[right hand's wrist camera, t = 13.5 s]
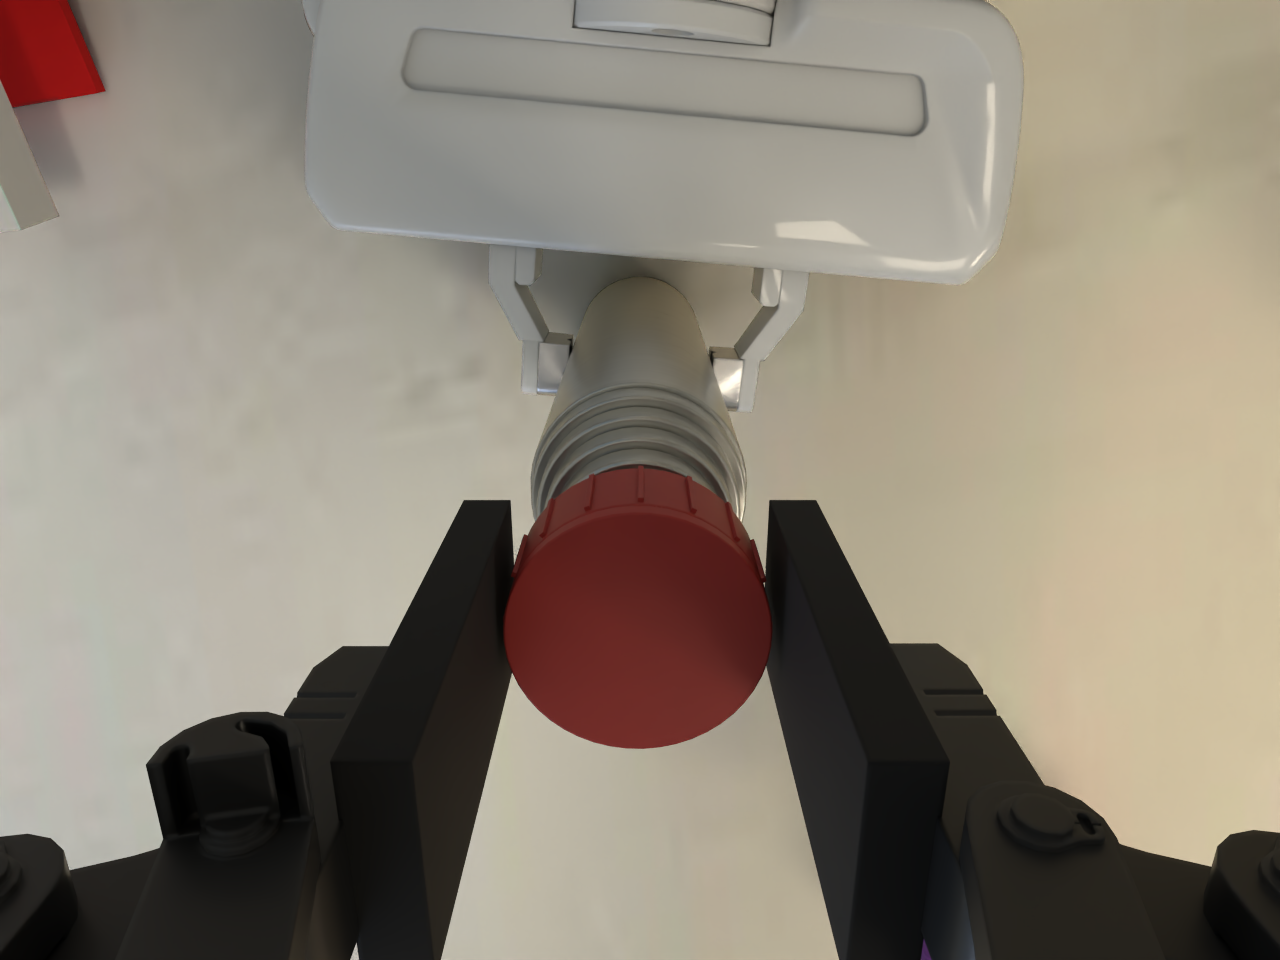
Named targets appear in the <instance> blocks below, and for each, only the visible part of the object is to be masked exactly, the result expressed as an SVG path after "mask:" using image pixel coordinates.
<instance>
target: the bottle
mask: <svg viewBox="0 0 1280 960" xmlns="http://www.w3.org/2000/svg"><path fill="white" fill-rule="evenodd" d="M638 466H644V469H655V470H661V471H667V472H670V473H674V474H678V475H681V476H683V477H687V475H688V476H691V477H692V480H693V481H695V482H697V483H699V484H701V485H702V486H704V487H706V488H707V489H709V490H710V491H712V492H713V493H714V494H716V495H717V496H718V497H720V498H721V499H722V500H723V501H724V502H725V503H727V502H729V503H730V504H731V505H732V509H733V512H734V513H735V514H736V516H737V517H738V518H739V520H740V521H741V523H742V521H743V517H744V512H745V505H746V488H747V478H746V468H745V463H744V459H743V455H742V452H741V449H740V446H739V443H738V440H737V437H736V434H735V431H734V428H733V426H732V423H731V420H730V417H729V414H728V411H727V408H726V405H725V402H724V399H723V396H722V393H721V390H720V387H719V384H718V382H717V379H716V376H715V373H714V370H713V367H712V364H711V361H710V358H709V355H708V352H707V349H706V346H705V343H704V340H703V338H702V335H701V332H700V329H699V326H698V323H697V320H696V317H695V314H694V312H693V310H692V308H691V306H690V304H689V303H688V301H687V300H686V299H685V298H684V296H683V295H682V294H681V293H680V292H679V291H677V290H676V289H675V288H674V287H672V286H670V285H669V284H667V283H665V282H662V281H660V280H657V279H654V278H648V277H631V278H626V279H622V280H619V281H617V282H614V283H613V284H611V285H609V286H607V287H606V288H605V289H603V290H602V291H601V292H600V293H599V294H598V295H597V296H596V297H595V298H594V299H593V301H592V302H591V303H590V305H589V307H588V309H587V311H586V313H585V315H584V318H583V321H582V324H581V326H580V329H579V332H578V335H577V338H576V340H575V343H574V346H573V349H572V352H571V355H570V357H569V360H568V363H567V366H566V369H565V371H564V374H563V377H562V380H561V383H560V385H559V388H558V391H557V394H556V397H555V399H554V402H553V405H552V408H551V411H550V414H549V416H548V419H547V422H546V425H545V428H544V430H543V433H542V436H541V439H540V442H539V444H538V447H537V450H536V453H535V457H534V461H533V464H532V472H531V501H532V510H533V516H534V520H535V521H536V520H537V518H538V517H539V516H540V514H541V513H542V512H543V511H544V509H545V508H546V507H547V504H548V501H549V500H550V499H551V498H553V499H555V498H557V497H558V496H559V495H560V494H562V493H563V492H564V491H566V490H567V489H569V488H570V487H572V486H573V485H575V484H577V483H579V482H581V481H583V480H585V479H587V478H589V475H590V474H593V473H594V475H595V476H596V475H598V474H601V473H606V472H610V471H614V470H621V469H631V468H638Z"/></svg>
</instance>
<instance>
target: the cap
mask: <svg viewBox="0 0 1280 960" xmlns="http://www.w3.org/2000/svg"><path fill="white" fill-rule="evenodd" d="M511 577H514V580H513V584H512V587H511V590H510V593H509V597H508V601H507V604H506V608H505V613H504V616H503V636H504V646H505V651H506V656H507V659H508V662H509V665H510V668H511V671H512V673H513V675H514V677H515V679H516V681H517V683H518V685H519V686H520V688H521V689H522V691H523V692H524V694H525V695H526V697H527V698H528V699H529V700H530V701H531V702H532V704H533V705H534V706H535V707H536V708H537V709H538V710H539V711H540V712H541V713H542V714H544V715H545V716H546V717H547V718H548V719H549V720H551V721H552V722H554V723H555V724H557V725H558V726H560V727H561V728H563V729H564V730H566V731H568V732H570V733H572V734H574V735H576V736H578V737H581V738H584V739H586V740H589V741H592V742H595V743H599V744H603V745H607V746H612V747H620V748H634V749H645V748H656V747H663V746H668V745H673V744H677V743H680V742H684V741H687V740H690V739H693V738H695V737H697V736H699V735H701V734H704V733H706V732H708V731H709V730H711V729H713V728H714V727H716V726H718V725H719V724H721V723H722V722H723V721H725V720H726V719H727V718H729V717H730V716H731V715H732V714H734V713H735V712H736V711H737V710H738V709H739V708H740V707H741V706H742V705H743V704H744V702H745V701H746V700H747V699H748V697H749V696H750V695H751V693H752V692H753V691H754V689H755V687H756V686H757V684H758V682H759V680H760V679H761V677H762V675H763V672H764V670H765V667H766V664H767V662H768V658H769V654H770V649H771V643H772V617H771V611H770V607H769V602H768V598H767V595H766V592H765V588H764V584H763V583H764V582H766V577H765V574H764V571H763V567H762V564H761V561H760V557H759V554H758V550H757V547H756V544H755V541H754V539H752V540H750V538H749V536H748V533H747V532H746V530H745V528H744V526H743V524H742V523H741V521H740V520H739V518H738V517H737V516H736V514H735V513H734V512H733V509H732V505H731V504H730V503H729V502H727V503H725V502H724V501H723V500H722V499H721V498H720V497H718V496H717V495H716V494H714V493H713V492H712V491H710V490H709V489H707V488H706V487H704V486H702V485H701V484H699V483H697V482H695V481H693V480H692V477H691V476H688V475H687V477H683V476H681V475H678V474H674V473H670V472H667V471H661V470H655V469H644V466H638V468H631V469H621V470H614V471H610V472H606V473H601V474H598V475H596V476H595V475H594V473H593V474H590V475H589V478H587V479H585V480H583V481H581V482H579V483H577V484H575V485H573V486H572V487H570V488H569V489H567V490H566V491H564V492H563V493H562V494H560V495H559V496H558V497H557V498H555V499H553V498H551V499H550V500H549V501H548V504H547V507H546V508H545V509H544V511H543V512H542V513H541V514H540V516H539V517H538V518H537V520H536V521H535V523H534V525H533V526H532V528H531V530H530V532H529V534H528V535H525V534H524V536H523V539H522V542H521V545H520V548H519V552H518V555H517V558H516V561H515V564H514V568H513V571H512V574H511Z"/></svg>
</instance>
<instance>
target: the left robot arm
mask: <svg viewBox="0 0 1280 960" xmlns="http://www.w3.org/2000/svg"><path fill="white" fill-rule="evenodd" d="M985 1H986V0H302V6H303V11H304V15H305V19H306V22H307V24H308V27H309V29H310V31H311V33H312V35H313V36H314V41H313V48H312V56H311V64H310V73H309V84H308V94H307V108H306V127H305V185H306V190H307V193H308V195H309V197H310V199H311V200H312V202H313V203H314V204H315V206H316V207H317V209H318V210H319V211H320V213H321V214H322V215H323V217H324V218H325V219H326V220H327V222H328V223H329V224H330V225H331V226H332V227H333V228H335V229H337V230H342V231H351V232H362V233H374V234H385V235H396V236H407V237H419V238H430V239H441V240H452V241H463V242H475V243H486V244H489V279H488V283H489V285H490V287H491V288H492V290H493V292H494V294H495V296H496V298H497V300H498V302H499V303H500V305H501V307H502V309H503V311H504V313H505V315H506V317H507V319H508V320H509V322H510V324H511V326H512V328H513V330H514V332H515V334H516V335H517V337H518V339H519V340H522V341H523V352H522V378H521V389H522V393H524V394H531V395H537V394H538V395H548V396H556V394H557V391H558V388H559V385H560V383H561V380H562V377H563V374H564V371H565V369H566V366H567V363H568V360H569V357H570V355H571V352H572V349H573V335H572V334H563V333H553V332H549V329H548V327H547V325H546V323H545V321H544V319H543V317H542V315H541V313H540V311H539V309H538V306H537V304H536V302H535V300H534V298H533V296H532V294H531V292H530V290H529V288H528V286H527V285H532V284H533V283H534V282H535V280H536V279H537V278H538V277H539V276H540V275H541V274H542V257H543V249H553V250H565V251H576V252H587V253H598V254H610V255H621V256H632V257H643V258H655V259H666V260H677V261H688V262H699V263H711V264H722V265H733V266H744V267H754V274H753V283H752V293H753V295H754V296H755V297H756V299H757V300H758V301H759V302H760V303H761V304H762V306H763V307H762V308H761V310H760V311H759V312H758V314H757V315H756V317H755V318H754V319H753V321H752V322H751V324H750V325H749V326H748V328H747V329H746V331H745V332H744V333H743V335H742V336H741V337H740V339H739V340H738V342H737V343H736V344H735V346H734V348H726V347H711V346H710V349H709V358H710V361H711V364H712V367H713V370H714V373H715V376H716V379H717V382H718V384H719V387H720V390H721V393H722V396H723V399H724V402H725V405H726V408H727V411H734V412H746V413H751V412H752V410H753V406H754V401H755V394H756V387H757V379H758V372H759V365H760V361H764V360H765V359H766V358H767V357H768V355H769V354H770V353H771V352H772V350H773V349H774V348H775V346H776V345H777V344H778V343H779V341H780V340H781V339H782V338H783V336H784V335H785V334H786V332H787V331H788V330H789V329H790V327H791V326H792V325H793V323H794V322H795V321H796V320H797V318H798V317H799V316H800V315H801V313H802V312H803V311H804V304H805V298H806V291H807V285H808V279H809V272H812V273H823V274H834V275H846V276H857V277H868V278H879V279H891V280H902V281H913V282H924V283H936V284H947V285H963V284H965V283H967V282H968V281H970V280H971V279H972V278H973V277H974V276H975V275H976V274H977V273H978V272H979V271H980V270H981V269H982V268H983V267H984V266H985V265H986V264H987V263H988V262H989V261H990V260H991V259H992V258H993V257H994V256H995V255H996V253H997V251H998V249H999V246H1000V244H1001V240H1002V237H1003V233H1004V229H1005V225H1006V220H1007V215H1008V210H1009V205H1010V200H1011V194H1012V188H1013V182H1014V176H1015V169H1016V162H1017V155H1018V146H1019V138H1020V129H1021V118H1022V106H1023V93H1024V66H1023V58H1022V52H1021V47H1020V43H1019V40H1018V38H1017V35H1016V33H1015V31H1014V29H1013V27H1012V25H1011V24H1010V22H1009V21H1008V19H1007V18H1006V17H1005V16H1004V15H1003V14H1002V13H1001V12H1000V11H999V10H998V9H997V8H995V7H994V6H992V5H991V4H989V3H987V2H985Z"/></svg>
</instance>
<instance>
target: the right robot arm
mask: <svg viewBox="0 0 1280 960" xmlns="http://www.w3.org/2000/svg"><path fill="white" fill-rule="evenodd" d="M513 568H514V556H513V538H512V520H511V501H510V500H464V501H463V503H462V505H461V507H460V509H459V511H458V513H457V515H456V517H455V519H454V520H453V522H452V524H451V526H450V528H449V530H448V532H447V534H446V536H445V538H444V540H443V542H442V544H441V546H440V548H439V550H438V552H437V554H436V556H435V558H434V559H433V561H432V563H431V565H430V567H429V569H428V571H427V573H426V575H425V577H424V579H423V581H422V583H421V585H420V587H419V589H418V591H417V593H416V595H415V597H414V598H413V600H412V602H411V604H410V606H409V608H408V610H407V612H406V614H405V616H404V618H403V620H402V622H401V624H400V626H399V628H398V630H397V632H396V634H395V636H394V637H393V639H392V641H391V643H390V645H389V646H342V647H341V648H340V649H338V650H337V651H336V652H334V653H333V654H331V655H330V656H329V657H327V658H326V659H325V660H323V661H322V662H320V663H319V664H318V665H316V666H315V667H314V668H313V669H312V671H311V672H310V674H309V675H308V677H307V678H306V680H305V682H304V683H303V685H302V686H301V688H300V689H299V691H298V692H297V698H294V699H293V700H292V702H291V703H290V705H289V707H288V708H287V710H286V711H285V713H284V716H281V715H277V714H273V713H270V712H239V713H235V714H230V715H225V716H221V717H216V718H212V719H209V720H207V721H204V722H202V723H200V724H197V725H195V726H193V727H190V728H188V729H186V730H183V731H182V732H180V733H179V734H178V735H176V736H175V737H173V738H172V739H170V740H169V741H167V742H166V743H165V744H163V745H162V746H160V747H159V749H158V750H157V751H156V753H155V754H154V755H153V756H152V758H151V759H150V760H149V761H148V763H147V764H146V768H147V772H148V776H149V780H150V784H151V789H152V793H153V797H154V801H155V806H156V810H157V814H158V818H159V823H160V827H161V831H162V835H163V841H162V844H161V846H160V848H158V849H155V850H152V851H148V852H145V853H142V854H138V855H135V856H131V857H127V858H122V859H118V860H113V861H109V862H105V863H100V864H96V865H91V866H87V867H83V868H78V869H74V870H69V867H68V864H67V860H66V857H65V853H64V850H63V849H62V848H61V847H60V846H58V845H57V844H56V843H55V842H54V841H53V840H52V839H51V838H47V837H41V836H36V835H31V834H22V835H13V836H4V837H0V960H350V959H351V956H352V953H353V950H354V947H355V945H356V942H357V948H358V955H359V960H441V957H442V953H443V948H444V944H445V940H446V936H447V932H448V928H449V924H450V920H451V916H452V912H453V908H454V904H455V900H456V896H457V892H458V888H459V884H460V880H461V876H462V872H463V868H464V864H465V860H466V856H467V852H468V848H469V844H470V840H471V836H472V832H473V828H474V824H475V820H476V816H477V812H478V808H479V803H480V799H481V795H482V791H483V787H484V783H485V779H486V775H487V771H488V767H489V763H490V759H491V755H492V751H493V747H494V743H495V739H496V735H497V731H498V727H499V723H500V719H501V715H502V711H503V707H504V703H505V699H506V695H507V691H508V687H509V683H510V679H511V675H512V671H511V668H510V665H509V662H508V659H507V656H506V651H505V646H504V636H503V616H504V613H505V608H506V604H507V601H508V597H509V593H510V590H511V587H512V584H513V580H514V577H511V574H512V571H513ZM765 577H766V582H765V592H766V595H767V598H768V602H769V607H770V611H771V617H772V643H771V649H770V654H769V658H768V662H767V664H766V666H767V671H768V675H769V679H770V683H771V687H772V691H773V695H774V699H775V703H776V707H777V711H778V715H779V719H780V723H781V727H782V731H783V735H784V739H785V743H786V747H787V751H788V755H789V759H790V763H791V767H792V771H793V775H794V779H795V783H796V787H797V791H798V795H799V799H800V803H801V807H802V812H803V816H804V820H805V824H806V828H807V832H808V836H809V840H810V844H811V848H812V852H813V856H814V860H815V864H816V868H817V872H818V876H819V880H820V884H821V888H822V892H823V896H824V900H825V904H826V908H827V912H828V916H829V920H830V924H831V928H832V932H833V936H834V940H835V944H836V948H837V952H838V957H839V960H921V955H922V948H923V941H924V940H925V943H926V946H927V949H928V951H929V954H930V957H931V960H1280V833H1276V832H1267V831H1258V830H1251V831H1246V832H1241V833H1236V834H1230V835H1229V836H1228V837H1227V838H1226V839H1225V840H1224V841H1223V842H1222V843H1221V844H1220V845H1219V846H1218V847H1217V850H1216V853H1215V857H1214V860H1213V864H1212V867H1210V866H1205V865H1201V864H1197V863H1192V862H1188V861H1183V860H1179V859H1174V858H1170V857H1166V856H1161V855H1157V854H1152V853H1148V852H1144V851H1141V850H1138V849H1134V848H1131V847H1127V846H1124V845H1121V844H1119V842H1118V840H1117V838H1116V836H1115V835H1114V833H1113V832H1112V830H1111V829H1110V827H1109V826H1108V824H1107V823H1106V821H1105V820H1104V818H1103V817H1101V816H1100V815H1099V814H1098V813H1096V812H1095V811H1094V810H1093V809H1091V808H1090V807H1089V806H1087V805H1086V804H1085V803H1084V802H1082V801H1081V800H1079V799H1077V798H1075V797H1073V796H1071V795H1069V794H1066V793H1064V792H1062V791H1060V790H1058V789H1056V788H1053V787H1049V786H1045V785H1044V784H1043V782H1042V780H1041V779H1040V777H1039V776H1038V774H1037V773H1036V771H1035V770H1034V768H1033V766H1032V765H1031V763H1030V762H1029V760H1028V759H1027V757H1026V756H1025V754H1024V752H1023V751H1022V749H1021V748H1020V746H1019V745H1018V743H1017V742H1016V740H1015V738H1014V737H1013V735H1012V734H1011V732H1010V731H1009V729H1008V728H1007V726H1006V725H1005V723H1004V721H1003V720H1002V718H1001V717H1000V716H997V713H996V709H995V707H994V706H993V704H992V703H991V701H990V700H989V698H988V697H987V695H984V694H983V689H982V687H981V686H980V684H979V683H978V681H977V679H976V678H975V676H974V675H973V673H972V672H971V670H970V669H969V667H968V665H967V664H965V663H964V662H962V661H961V660H960V659H958V658H957V657H956V656H954V655H953V654H951V653H950V652H949V651H947V650H946V649H944V648H943V647H942V646H940V645H939V644H890V643H889V641H888V639H887V637H886V635H885V634H884V632H883V630H882V628H881V626H880V624H879V622H878V620H877V618H876V616H875V614H874V612H873V610H872V608H871V606H870V604H869V602H868V600H867V598H866V597H865V595H864V593H863V591H862V589H861V587H860V585H859V583H858V581H857V579H856V577H855V575H854V573H853V571H852V569H851V567H850V565H849V563H848V561H847V559H846V558H845V556H844V554H843V552H842V550H841V548H840V546H839V544H838V542H837V540H836V538H835V536H834V534H833V532H832V530H831V528H830V526H829V524H828V522H827V520H826V519H825V517H824V515H823V513H822V511H821V509H820V507H819V505H818V503H817V501H816V500H770V501H769V520H768V538H767V556H766V574H765Z"/></svg>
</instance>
